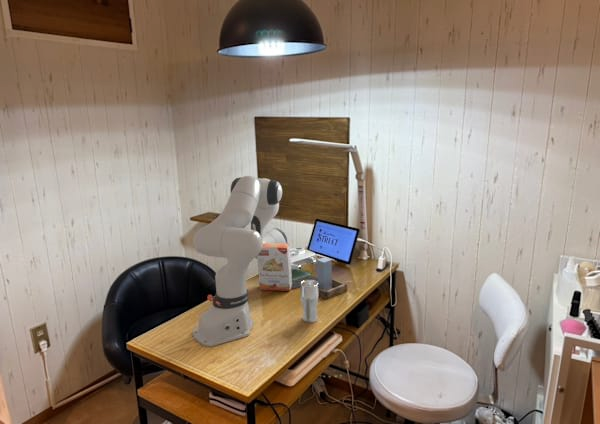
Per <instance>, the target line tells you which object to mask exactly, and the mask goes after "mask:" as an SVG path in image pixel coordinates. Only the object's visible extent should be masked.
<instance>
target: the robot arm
mask: <svg viewBox="0 0 600 424" xmlns="http://www.w3.org/2000/svg"><path fill="white" fill-rule="evenodd" d="M282 197H283V188H282V184H281V183H280V182H279V181H277V180H274V179H269V178H265V177H263V178H259V177H254V176H251V175H244V176H242V177H237V178H235V179H234V180H232V182H231V185H230V195H229V197H228V200H227V202H226V205H225V206H224V208H223V211H221V212H220V214H219V215H218V216H217V217H216V218H215V219H214V220H212V221H211V222H210V223H208V224H207V225H204V226H202V227H200V228H199V229H197V230H196V231H195V232H196V233H194V236H193V246H194V249H195V251H196V252H197V253H198V254H201V255H205V256H208V257H216V258H226V260H227V264H224V265H223V266H221V267H219V268H218V269H217V271H216V273H215V277H214V279H215V289H216V292H215V295H214V296H213V294H208V295H207V297H206V298H207V300H208V302H212V304H211V305H210V306H209V307H208V308H207V309H206V310H205V311H204V312H203V314H201V315H200V317H199V319H198V326H197V327H196V328H193V330H192V337H193V338H194V339H195V340H196V341H197V342H198V343H199V344H200V345H203V346H204V347H208V348H209V347H211V348H212V347H215V346H217V345H221V344H225V343H228V342H232V341H235V340H238V339H242V338H246V337H248V336H249V335H250V332H251V330H252V328H253V327H254V321H253V319H252V316H251V313H250V312H251V311H250V308H249V291H248V288H247V272H248V271H247V270H248V267H249V265H250V263H251V262H253V260H254V259H257V256H258V255H259V253H260V252H261V250H262V246H263V243H277V244H288V237H287V235H286V233H285V232H284V231H283V230H281V229H279V228H276V227H272V228H271V229H270V230H268V231H267V232H266V233H265V234H264V230H265V228H266V226H267V225H268V224H269V223H270V222H271V221H272V220H273V218H274V217H276V215H277V214H278V212H279V208H280V201H281V199H282ZM249 224H250V228H247V226H248V225H249ZM290 257H291V270H293V269H297V270H299V269H301V270H302V268H301V267H302V266H305V265H308V264H312V265H317V254H316V253H315V252H314V251H311V250H309V249H306V248H304V247H295V248H293V247H290Z"/></svg>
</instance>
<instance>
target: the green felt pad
mask: <svg viewBox="0 0 600 424" xmlns="http://www.w3.org/2000/svg"><path fill="white" fill-rule="evenodd" d="M291 273H292V283H294V282H297V281H300V280H303V279H306V278H308V277H311V276H313V274H312V273H310V272H308V271H306V270H303V269H302V268H301V269H299V270H297V269H291Z"/></svg>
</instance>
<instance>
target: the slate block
mask: <svg viewBox="0 0 600 424" xmlns="http://www.w3.org/2000/svg"><path fill="white" fill-rule="evenodd" d="M332 263H333V262H332V259H330V258H328V257H325V256H324V257H322V258H318V259H316V272H317V273H316V275H317V282H318V287H319V288H321V289H323V290H326V291H328V290H330V289H333V286H332V278H333V273H332V272H333V270H332V269H333V268H332V267H333V265H332Z"/></svg>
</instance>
